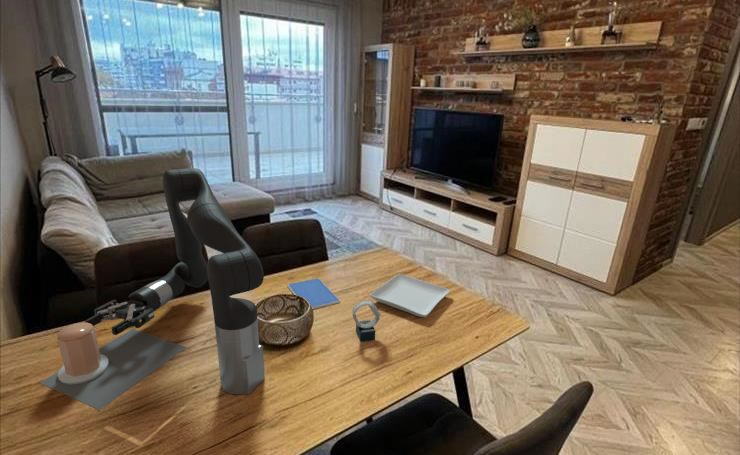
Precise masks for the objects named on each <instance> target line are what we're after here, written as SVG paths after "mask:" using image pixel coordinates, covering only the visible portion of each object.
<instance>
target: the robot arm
mask: <svg viewBox="0 0 740 455" xmlns="http://www.w3.org/2000/svg"><path fill="white" fill-rule="evenodd" d="M162 186H163V187H162V188H163V194H164V196H165V201H166V205H167V206H166V207H167V210H168V215H169V218H170V221H171V225H172V230H173V233H174V239H175V240H174V241H175V249H176V256H177V258H178V260H179V261H180V262H178V263H176V264H175V265H174V266H173V267H172V268H171V270H169V271H168V273H167V274H166V275H164V276H162V277H161V278H159V279H157V280H155V281H152V282H149V283H148V284H145V285H144V286H142V287H140V288H139V289H137V290H135V291H133V292H132V293H130V294H129V295H128V297H127V299H126V300H125V301H122V302H120V303H118V302H117V300H116V299H113V300H110V301H108V302H106V303H104V304H102V305H100V306H98V307H95V309H94V315H93V316H91V317H89V318H87V319H86V320H85V321H84V323H90V324H92V326H93V327H95V326H97V325H98V324H100V323H101V322H102V321H106V320H110V321H113V320H122V321H120V322H119V323H117V324H115V325H113V326H112V327H111V332H112V335H113V336H118V335H119V334H121V333H123V332H124V331H125V330H127V329H131V328H132V329H133V327H135V329H140V328H141V327H142V326H144V325H146V324H147V323H148V322H150V321H151V320H152V319H154V318H155V312H156V311H157V310H159V309H160V308H162V307H164V306H165V305H166V304H168V302H170V301H171V300H173V299H175V298H176V297H178V296H180V294H182V293H183V292H184V290H185V287H186V286H185V285H187V286H189V287H192V288H200V287H203V286H204V285H205V284H206V283H207V282H208V286H209V291H210V296H211V298H210V299H211V306H212V311H213V312H212V313H213V321H214V329H215V330H214V332H215V339H216V350H217V359H218V360H217V361H218V369H219V376H220V377H219V378H220V386H221V389H222V390H223V391H224V392H226V393H228V394H231V395H243V394H246V395H250V394H251V393H252V392H253V391H254V390H256V388H257V387H258V386H259V385H260V384H261V383H262V382H263V381H264V380H265V378H266V377H265V361H264V347H263V346H264V345H261V344H260V340H259V339H260V337H259V323H258V308H257V306H256V303H254V302H253V301H251V300H250V299H246V298H240V297H239V298H238V297H231V296H235V295H238V294H243V293H247V292H250V291H251V292H252V291H253V290H256V289H257V288H260V287H261V285H262V284H263V283H264V280H265V279H264V277H265V274H264V273H265V272H264V268H263V265H262V263H261V260H260V259H259V257H258V255H257V254H256V252H255V251H254V250H253V249H252V247H251V246H250V245H249V243H248V242H247V241H246V240H245V239H244V238H243V236H242V235H240V234H239V232H238V231H237V229H236V228H235V226H234V224H233V222H232V221H231V219H230V217H229V216H228V214H227V212H226V211H225V209H224V208H223V207H222V206H221V204H220V203H219V201H218V199H217V198H216V196H215V194H214V193H213V190H212V188H211V186H210V184H209V182H208V180H207V177H206V176H205V174H204V173H203V171H202V170H201V169H199V168H197V167H196V168H195V167H189V168H188V167H187V168H177V169H176V168H175V169H168V170H165V171H164V173H163V175H162ZM190 201H193V202H192V204H191V205H190V207H189V209H188V211H187V216H186V215H185V214H184V213H183V211H182V209H181V207H180V203H181V202H190ZM201 245H204V246H206V247H208V248H210V249H213V250H215V251H218V252H220V253H219V254H215V255H212V256H210V257H209V258H208V260H207V263H206V260H205V258H204V256H203V253H202V246H201ZM113 312H114V314H113Z"/></svg>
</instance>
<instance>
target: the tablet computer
mask: <svg viewBox="0 0 740 455" xmlns="http://www.w3.org/2000/svg"><path fill="white" fill-rule="evenodd" d="M286 287H287V288H288V290H289V291H290V292H291V294H293V296H294V295H297V296H301V297H303V298H305V299H306V300H307V301H308V302H309V304H310V305H311V307H312V308H313V310H315V309H320V308H324V307H328V306H332V305H336V304H340V303H341V300H340V298H338V297H337V296H336V294H335V293H333V291H332V290H331V289H330V288H329V287H328V286H327V285H326V284H325V283H324V282H323V280H321V279H320V278H318V277H317V278H316V277H315V278H312V279H308V280H303V281H297V282H292V283H291V282H290V283H288V284H287V285H286Z"/></svg>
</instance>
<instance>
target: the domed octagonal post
mask: <svg viewBox="0 0 740 455" xmlns="http://www.w3.org/2000/svg"><path fill="white" fill-rule="evenodd" d="M56 340H57V344H58V348H59V351H60V355H61V360H62V363H63V366H64V367H65V371H66V374H68V375H71V376H73V377H76V376H80V375H85V374H89V373H90V372H92V371H94V370H95V369H97V368H98V367H99V366H100V363H101V356H100V352H99V348H100V347H99V344H98V339H97V335H96V328H95V326H92V324H90V323H85V322H77V323H73V324H70V325H67V326H66V327H64V328H62V329H60V331H59V332H58V333H57V338H56Z"/></svg>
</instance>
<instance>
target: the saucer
mask: <svg viewBox="0 0 740 455" xmlns="http://www.w3.org/2000/svg"><path fill="white" fill-rule="evenodd" d="M100 356H101V363H100V366H99V367H98V368H97V369H95V370H94V371H92V372H90V373H89V374H85V375H80V376H76V377H73V376H71V375H68V374H66V371H65V367H64V365H62V366H61V368H60V369H59V370H58V371H57V372H58V378H59V381H60V382H61V383H63V384H66V385H76V384H81V383H85V382H88V381H91V380H93V379H95V378H97V377H98V376H100V375H101V374H103V373H104V372H105V371H106V370H107V368H108V366H109V361H108V358H107V357H106V356H105V355H102V354H100Z"/></svg>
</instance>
